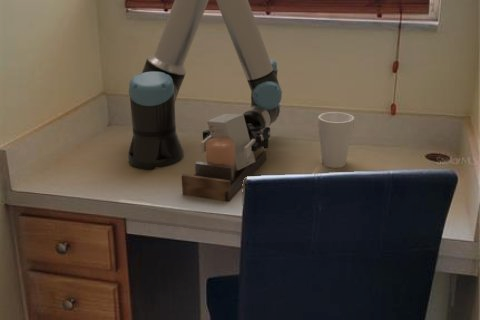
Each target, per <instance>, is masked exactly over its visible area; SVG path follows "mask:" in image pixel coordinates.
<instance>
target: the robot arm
mask: <svg viewBox="0 0 480 320" xmlns="http://www.w3.org/2000/svg"><path fill="white" fill-rule="evenodd" d="M209 1H210V0H174V2H173V3H172V6H171V9H170V12H169V15H168V17H167V19H166V20H167V21H166V23H165V25H164V29H163V30H162V34H161V35H160V38H159V41H158V44H157V47H156V50H155V53H153V54H151V55H148V56H147V59H146V61H145V63H144V65H143V66H144V67H143V68H142V71H141V73H139V74H136V75H134V76H132V78H131V79H130V80H129V83H128V84H129V86H128V95H129V101H130V111H131V112H130V114H131V125H132V126H131V127H132V138H131V142H130V146H129V149H128V163H129V164H130V165H131V166H132V167H135V168H137V169H141V170H151V171H152V170H155V169H157V168H164V167H169V166H172V165H175V164H178V163H179V162H181V161H183V159H184V149H183V145H182V143H181V141H180V138H179V135H178V133H177V129H176V128H177V126H176V109H175V108H176V101H177V97H178V94H179V92H180V89H181V86H182V85H183V82H184V79H185V76H186V74H187V71H186V69H185V66H184V65H185V63H186V59H187V57H188V54H189V52H190V49H191V46H192V44H193V42H194V39H195V37H196V34H197V32H198V31H197V30H198V28H199V26H200V23H201V21H202V18H203V16H204V13H205V11H206V8H207V5H208V3H209ZM215 1H216V4H217V6H218V9H219V11H220V13H221V16H222V19H223V22H224V24H225V27H226V29H227V32H228V34H229V37H230V39H231V43H232V45H233V47H234V50H235V52H236V54H237V57H238V61H239V62H240V65H241V68H242V71H243V73H244V75H245V78H246V81H247V84H248V86H249V88H250V93H251V94H250V104H251V105H250V108H248V109H247V110H246V111H245V112H244V113H242V114H243V115H244V119H245V123H246V126H247V130H248V134H249V138H250V142H249V143H248V144H247V145H246V146H245V147H244V158H248V157H249V155H250V154H251V153H252V152H253V153H254V152H257V151H258V150H260V149H261V148H263V149H265V150H267V149H269V139H270V137H271V127H270V126H271V125H272V124H273V123H275V121H277V119H278V117H279V116H280V114H281V111H280V108H281V105H280V103H281V101H282V98H283V96H282V94H283V92H282V89H281V85H280V83H279V79H278V71H279V70H278V64H277V63H278V62H277V61H276V60H274V59H271V58H270V57H269V53H268V51H267V49H266V46H265V45H266V44H265V42H264V39H263V38H262V35H261V33H260V30H259V27H258V25H257V21H256V18H255V16H254V12H253V10H252V8H251V5H250V2H249V0H215ZM279 113H280V114H279ZM262 138H263V139H262ZM209 139H212V138H211V134H210V130H209V129H206V130H204V131H202V141H201V142H200V148H201V149H200V151H201V152H200V153H202V154H203V153H206V142H207V141H208V140H209Z"/></svg>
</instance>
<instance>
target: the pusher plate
mask: <svg viewBox="0 0 480 320" xmlns="http://www.w3.org/2000/svg"><path fill="white" fill-rule="evenodd" d="M194 165H195V166H194V169H195V170H194V171H195V174H196V176H202V177H209V178H216V179H223V180H230V181H231V185H232V183H233V182H234V166H230V165H222V164H214V163H207V161H196V162H195V163H194Z"/></svg>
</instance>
